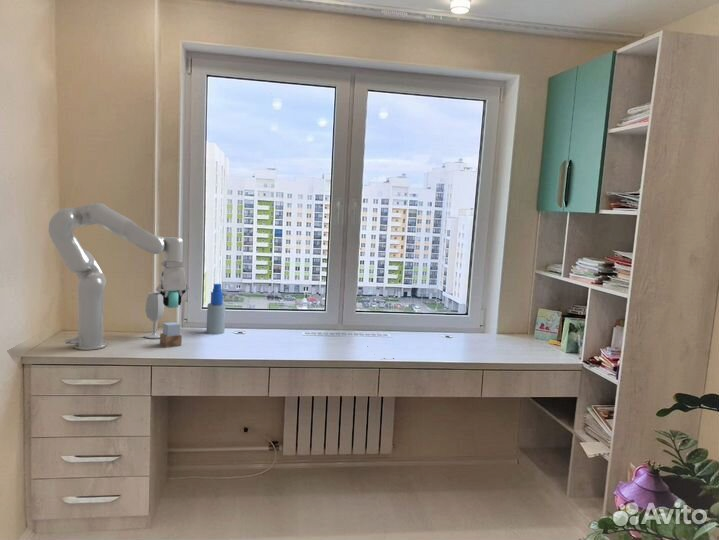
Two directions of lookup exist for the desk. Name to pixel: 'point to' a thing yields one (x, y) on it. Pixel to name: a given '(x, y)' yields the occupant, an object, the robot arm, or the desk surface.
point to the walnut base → (170, 340)
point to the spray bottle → (216, 312)
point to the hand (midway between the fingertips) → (172, 304)
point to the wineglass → (154, 312)
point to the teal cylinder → (173, 299)
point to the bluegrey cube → (171, 329)
